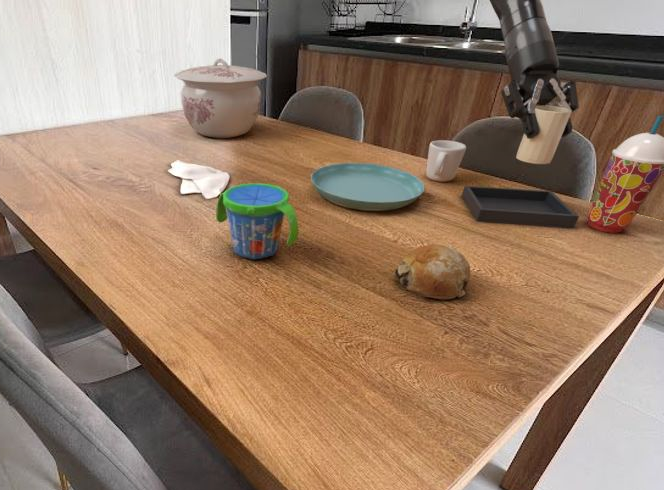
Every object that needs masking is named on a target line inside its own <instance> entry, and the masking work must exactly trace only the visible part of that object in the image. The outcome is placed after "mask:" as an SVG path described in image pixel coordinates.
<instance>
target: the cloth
mask: <svg viewBox="0 0 664 490" xmlns="http://www.w3.org/2000/svg"><path fill="white" fill-rule="evenodd" d="M170 166H171V168H169V169H168V170H167V173H169V174H171V175H172V176H174V177H176V178H180V179H181V181H182V182H181V184H180V195H189V194H202V196H203V197H204V198H205V199H206V200H211V199H216V198H217V197H219V196H220V195H221V194H222V193H223V192H224V190H225V189H226V187H227V186H228V184H229V181H230V174H229V173H228V172H227V171H222V170H221V169H216V168H213V167H211V166H207V165H201V164H195V163H187V162H184V161H182V160H180V159H176V160H175V161H174V162H172V163H170Z"/></svg>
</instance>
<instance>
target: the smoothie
mask: <svg viewBox="0 0 664 490" xmlns="http://www.w3.org/2000/svg"><path fill="white" fill-rule="evenodd" d="M663 119H664V116H663V115H658V117H657V119H656V121H655V122H654V124H653V126H652V128H651V130H650V132H643V133H637V134H635V135H632V136H630V137H628V138H627V139H625V140H624V141H622V142H621V143H620V144H619V145H618V146H617V147H616V148H614V149H612V153H611V155H610V157H609V160H608V162H607V165H606V167H605V170H604V173H603V175H602V178H601V180H600V183H599V185H598V187H597V190H596V192H595V195H594V198H593V199H592V202H591V204H590V208H589V210H588V212H587V215H586V218H587V223H586V224H587V225H588V226H589V227H590V228H592V229H594V230H596V231H599V232H604V233H609V234H618V233H621V232H623V231H624V229H625V228H628V227H630V225H631V223H632V222H633V220H634V219H635V217H636V216H637V214H638V212H639V211H640V209H641V208H642V206H643V205H644V203H645V201H647V199H648V197H649V195H650V193H651V192H652V190H653V189H654V187H655V186H656V184H657V182H658V181H659V179H660V178H661V176H662V175H663V174H664V136H663V135H660V134H659V133H656V132H657V130H658V128H659V127H660V125H661V123H662V120H663Z"/></svg>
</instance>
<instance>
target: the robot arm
mask: <svg viewBox="0 0 664 490" xmlns="http://www.w3.org/2000/svg"><path fill="white" fill-rule="evenodd" d="M489 2H490V4H491V7H492V9H493V11H494V13H495V15H496V17H497V18H498V21H499V25H500V30H501V34H502V39H503V44H504V55H505V59H506V64H507V68H508V72H509V76H510V81H509V82H508V83H507V84H506V85H505V86H504V87H503V88H502V89H501V90H500V94H501V96H502V100H503V102H504V104H505V107H506V110H507V112H508V115H509V118H511V119H515V118H517V119H518V120H519V121H520V122H521V125H522V129H523V132H524V133H525V135H526V136H527V138H528V139H532V138H534V137H535V136H536V135H538V134H539V132H540V130H539V126H538V122H537V118H536V114H533V113H534V111H535V106H538V105H549V106H558V107H564V108H568V109H570V110H572V112H571V114H572V113H573V112H574V111H576V110H578V109H579V107H580V105H579V98H578V90H577V83H576V81H575V79H570V80H569V81H567V82H564V81H562V80H561V79H560V78H559V76H558V74H557V73H558V69H559V66H560V62H559V58H558V54H557V51H556V46H555V42H554V38H553V34H552V31H551V28H550V26H549V24H548V21H547V17H546V13H545V9H544V5H543V2H542V0H489ZM554 99H555V101H553V100H554ZM552 101H553V103H551V102H552ZM572 132H573V123H572V119H571V116H570V117H569V119H568V122H567V124H566V127H565V129H564V131H563V134H562V136H561V138H565V137H567V136H568V135H569V134H571V133H572ZM524 133H523V134H524Z"/></svg>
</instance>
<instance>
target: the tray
mask: <svg viewBox="0 0 664 490" xmlns="http://www.w3.org/2000/svg"><path fill="white" fill-rule="evenodd" d="M461 199H462V200H463V202H464V204H465V205H466V207H467V208H468V209H469V212H470V213H471V214H472V216H473V218H474V219H475V221H476V222H477V223H478V222H480V223H492V224H507V225H508V224H509V225H521V226H534V227H535V226H536V227H549V228H562V229H563V228H564V229H574V228H575V226H576V225H577V222H578V219H579V217H580V215H578V214H577V213H576V212H575V211H574V210H573V209H572V208H571V207H570V206H568V205H567V204H566V203H565V202H564V201H563V200H562V199H561V198H560V197H559V196H558V195H556V194H555V193H554V192H553V190H542V189H524V188H508V187H494V186H493V187H492V186H480V185H479V186H478V185H477V186H476V185H464V187H463V190H462V193H461Z"/></svg>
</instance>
